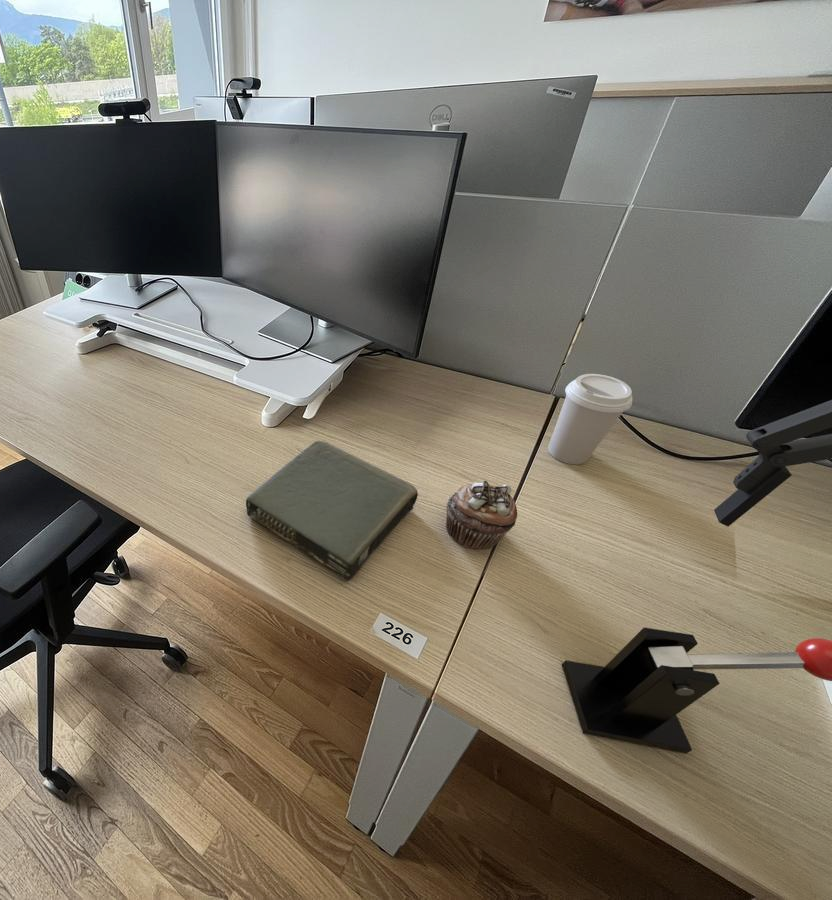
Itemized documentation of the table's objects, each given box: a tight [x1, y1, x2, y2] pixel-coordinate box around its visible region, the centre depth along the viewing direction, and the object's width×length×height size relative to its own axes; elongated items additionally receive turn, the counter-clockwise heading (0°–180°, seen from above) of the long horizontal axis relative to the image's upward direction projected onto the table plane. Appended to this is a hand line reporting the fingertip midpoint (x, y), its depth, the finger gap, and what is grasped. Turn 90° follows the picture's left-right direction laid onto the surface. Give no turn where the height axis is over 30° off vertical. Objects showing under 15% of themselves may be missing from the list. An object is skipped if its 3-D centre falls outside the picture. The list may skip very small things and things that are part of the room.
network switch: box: [245, 440, 419, 581], centre depth 79 cm, size 23×24×5 cm
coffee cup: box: [547, 373, 633, 465], centre depth 83 cm, size 10×10×15 cm
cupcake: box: [445, 480, 518, 551], centre depth 72 cm, size 10×10×10 cm
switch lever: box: [648, 637, 832, 682], centre depth 45 cm, size 14×4×4 cm, turn 76°
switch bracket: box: [561, 627, 720, 754], centre depth 50 cm, size 10×8×13 cm
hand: (807, 560), depth 42 cm, fingers open, 13 cm apart
